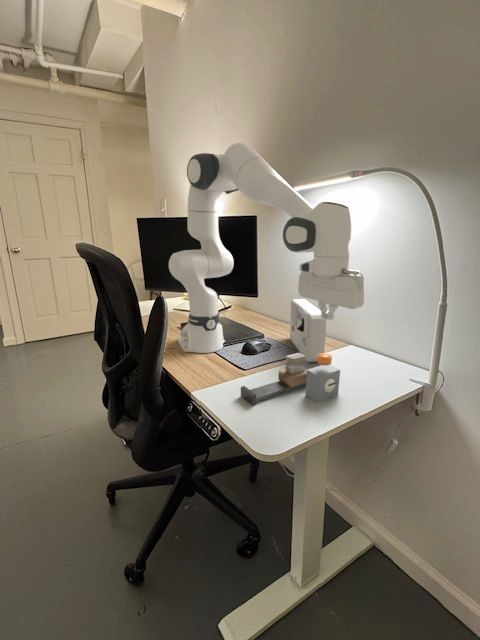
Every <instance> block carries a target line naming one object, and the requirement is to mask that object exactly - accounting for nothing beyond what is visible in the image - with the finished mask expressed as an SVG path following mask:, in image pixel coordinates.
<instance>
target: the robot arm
mask: <svg viewBox="0 0 480 640" xmlns="http://www.w3.org/2000/svg"><path fill="white" fill-rule="evenodd" d="M271 166H272V165H270V164H269V162H267V161H266V160H265V159H264V158H263V156H262V155H260V154H259V153H258V152H257V151H255V150H254V149H253V148H251V147H250V146H248V145H247V144H245V143H244V142H243V143H242V142H236V143H233V144H231V145H230V146H229V147H228V148H227V149H226V150H225V152H224V154H221V153H220V154H215V153H206V152H203V153H201V152H200V153H197V154H194V155H193V156H191V157H190V159H189V161H188V162H187V166H186V176H187V180H188V182H189V184H190V185H189V189H188V197H187V232H188V233H189V235H190V236H191V237H192V238H194V239H195V240H197V241H199V242H200V243H199V244H200V245H201V246H200V247H201V248H200V249H187V250H186V249H185V250H180V251H178V252H173V253H172V255H171V256H170V257H169V260H168V270H169V273H170V274H171V276H172V277H173V278H174V279H175V280H177V281H179V282H180V283H181V285H182V286H183V287H184V288H185V291H186V293H187V296H188V302H189V313H188V319H187V321H188V323H187V322H186V323H187V324H186V325H184V326H183V327H182V331H180V337H178V338H177V343H178V344H179V346H180V347H181V350H182V351H183V352H184V353H197V354H198V353H199V354H207V353H214V352H217V351H220V350H222V349H223V347H224V345H223V343H224V342H225V341H226V340H225V339H224V333H223V326H222V324H221V323H220V317H221V316H220V313H219V301H218V300H219V297H218V293H217V292H216V291H215V289H212V288H211V287H208V286H206V284H205V279H212V278H221V277H224V276H227V275H230V274H231V273H232V271H233V269H234V264H235V263H234V261H235V260H234V258H233V255H232V254H231V252H230V251H229V250H228V249H227V248H226V247H225V246H224V244H223V243H222V240H221V237H220V231H219V200H220V196H221V195H222V194H223V193H224V194H227V195H229V194H231V193H235V192H238V191H240V193H241V194H242V195H243V196H244V197H245V198H247V199H248V200H249V201H251V202H253V203H256V204H259V205H265V206H270V207H274V208H277V209H279V210H281V211H283V212H285V213H286V214H287V215H288V216H290V219H288V220H287V221H286V223H285V225H284V226H283V230H282V240H283V244H284V245H285V247H286V248H287V250H289V251H290V252H294V253H299V254H301V253H313V259H311V260H308V261H305V262H302V263H300V264H299V269H298V270H299V271H300V273H299V276H298V284H297V285H298V287H297V289H298V294H299V297H301V298H304V299H305V298H306V299H309V300H314V301H318V302H317V303H318V305H317V306H318V309H319V310H320V311H321V317H322V318H325V319H326V320H329V321H330V320H333V319H334V315H335V313H336V311H337V309H338V308H339V307H342V308H345V309H346V308H347V309H351V310H356V309H360V308H362V307H363V306H364V305H365V304H364V303H365V286H364V283H365V277H364V276H363V274H362V273H361V272H360V271H359V270H356V269H354V270H353V269H349V265H350V264H349V263H350V251H349V246H350V245H349V244H350V241H351V238H352V221H353V219H352V211H351V210H352V209H351V208H350V206H349V205H348V204H346V202H345V203H344V202H340V201H339V202H338V201H332V200H322V201H320V202H318V204H317V205H316V206H315V207H314V206H313V205H312V204H311V203H309V202H308V201H307V200H306V199H305V198H304V197H303V196H302V195H301V194H300V193H299V192H297V191H296V190H295V189H294V188H293V187H292V186H291V185H289V183H288V182H287V181H286V180H285V179H283V177H281V176H280V175H279V174H278V173H277V172H276V171H275V169H273V168H272V167H271ZM327 306H328V308H327Z"/></svg>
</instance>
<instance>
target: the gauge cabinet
mask: <svg viewBox="0 0 480 640" xmlns="http://www.w3.org/2000/svg"><path fill="white" fill-rule="evenodd" d="M307 369H308V370H307V377H306V387H305V396H306V397H308V398H309V399H311V400H312V401H315V402H316V403H321V402H324V401H326V400H328V399H332V398H334V397H336V396H339V390H340V389H339V388H340V377H341V375H340V374H341V369H340V368H338V367H336V366H333V365H332V364H330V365H317V366H314V367H312V368H307Z"/></svg>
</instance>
